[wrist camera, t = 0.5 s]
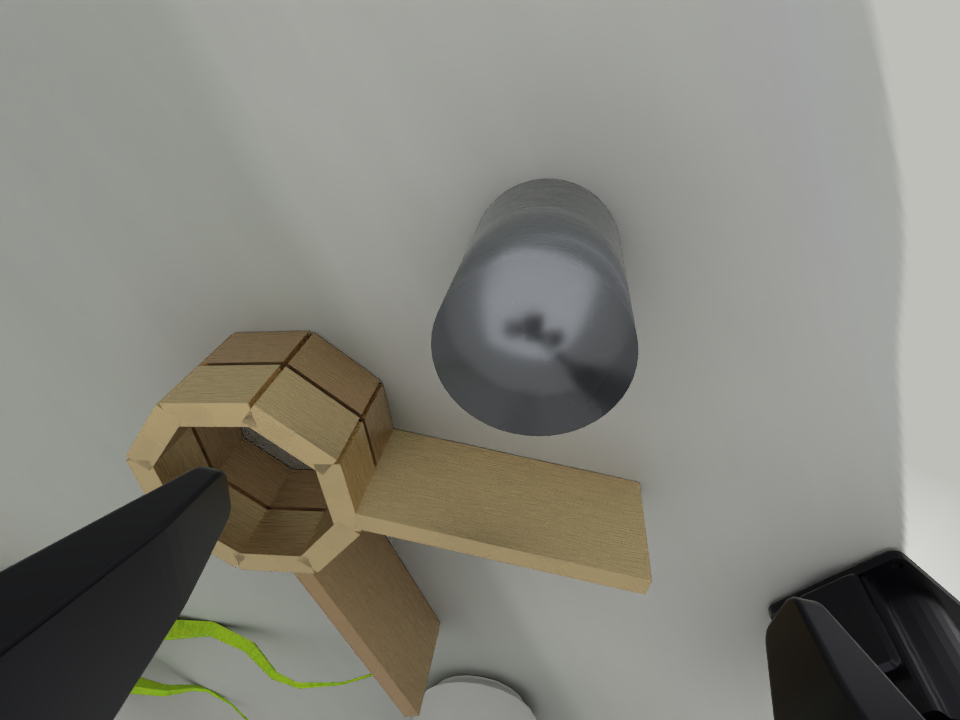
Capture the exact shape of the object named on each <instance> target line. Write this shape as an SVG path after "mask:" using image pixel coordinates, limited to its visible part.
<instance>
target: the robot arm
mask: <svg viewBox="0 0 960 720" xmlns="http://www.w3.org/2000/svg"><path fill="white" fill-rule="evenodd" d="M230 512H231V500H230V493H229V486H228V479H227V475H226V473H225V472H224V471H222V470H219V469H215V468H210V467H206V466H199V467H196V468H194V469H192V470H190V471H188V472H186V473H184V474H182V475H181V476H179V477H177V478H175V479H173V480H171V481H169V482H167V483H166V484H164V485H162V486H160V487H158V488H156V489H154V490H152V491H151V492H149V493H147V494H145V495H143V496H141V497H139V498H137V499H136V500H134V501H132V502H130V503H128V504H126V505H124V506H122V507H121V508H119V509H117V510H115V511H113V512H111V513H109V514H107V515H106V516H104V517H102V518H100V519H98V520H96V521H94V522H93V523H91V524H89V525H87V526H85V527H83V528H81V529H79V530H78V531H76V532H74V533H72V534H70V535H68V536H66V537H64V538H63V539H61V540H59V541H57V542H55V543H53V544H51V545H49V546H48V547H46V548H44V549H42V550H40V551H38V552H36V553H34V554H33V555H31V556H29V557H27V558H25V559H23V560H21V561H19V562H18V563H16V564H14V565H12V566H10V567H8V568H6V569H4V570H3V571H1V572H0V720H113V719H114V718H115V716H116V715H117V713H118V711H119V710H120V708H121V707H122V705H123V704H124V702H125V700H126V699H127V697H128V696H129V694H130V693H131V691H132V689H133V688H134V686H135V685H136V683H137V681H138V680H139V678H140V677H141V675H142V674H143V672H144V670H145V669H146V667H147V666H148V664H149V663H150V661H151V659H152V658H153V656H154V655H155V653H156V651H157V650H158V648H159V647H160V645H161V644H162V642H163V640H164V639H165V637H166V636H167V634H168V633H169V631H170V629H171V628H172V626H173V625H174V623H175V621H176V620H177V618H178V616H179V615H180V613H181V611H182V610H183V608H184V606H185V605H186V603H187V601H188V599H189V597H190V595H191V593H192V591H193V589H194V587H195V585H196V583H197V581H198V579H199V577H200V575H201V573H202V571H203V569H204V567H205V565H206V563H207V561H208V559H209V557H210V555H211V553H212V551H213V549H214V547H215V545H216V543H217V541H218V539H219V537H220V535H221V533H222V531H223V529H224V527H225V525H226V523H227V521H228V519H229V516H230ZM768 611H769V614H770V617H771V620H772V622H771V623H770V624H769V626H768V628H767V631H766V651H767V660H768V669H769V678H770V687H771V697H772V706H773V715H774V720H960V602H959V601H958V600H957V599H956V598H955V597H954V596H952V595H951V594H950V593H949V592H948V591H947V590H945V589H944V588H943V587H942V586H941V585H940V584H938V583H937V582H936V581H935V580H934V579H933V578H931V577H930V576H929V575H928V574H927V573H926V572H925V571H923V570H922V569H921V568H920V567H919V566H917V565H916V564H915V563H914V562H913V561H912V560H911V559H909V558H908V557H907V556H906V555H905V554H904V553H902V552H899V551H889V552H886V553H884V554H881V555H879V556H877V557H875V558H873V559H871V560H868V561H866V562H864V563H862V564H860V565H857V566H855V567H853V568H851V569H849V570H847V571H844V572H842V573H840V574H838V575H836V576H834V577H831V578H829V579H827V580H825V581H823V582H820V583H818V584H816V585H814V586H812V587H810V588H807V589H805V590H803V591H801V592H799V593H797V594H794V595H792V596H790V597H788V598H786V599H784V600H781V601H779V602H777V603H775V604H773V605H771V606H770V607H769V609H768Z"/></svg>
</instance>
